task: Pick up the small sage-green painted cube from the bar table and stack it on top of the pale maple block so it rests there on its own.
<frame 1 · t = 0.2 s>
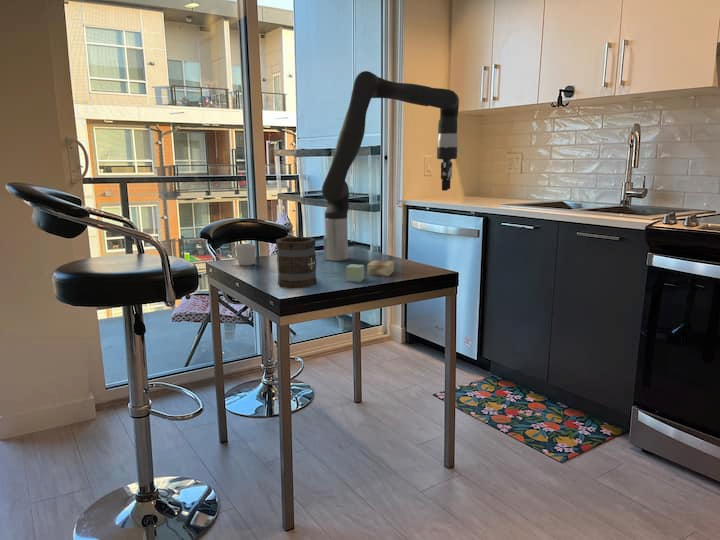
hand: (446, 189, 199), 29 cm above the table, fingers open, 8 cm apart
cup: (243, 265, 208), on the table
sage cube: (355, 280, 180), on the table
mug: (299, 282, 179), on the table
maple block: (380, 273, 191), on the table
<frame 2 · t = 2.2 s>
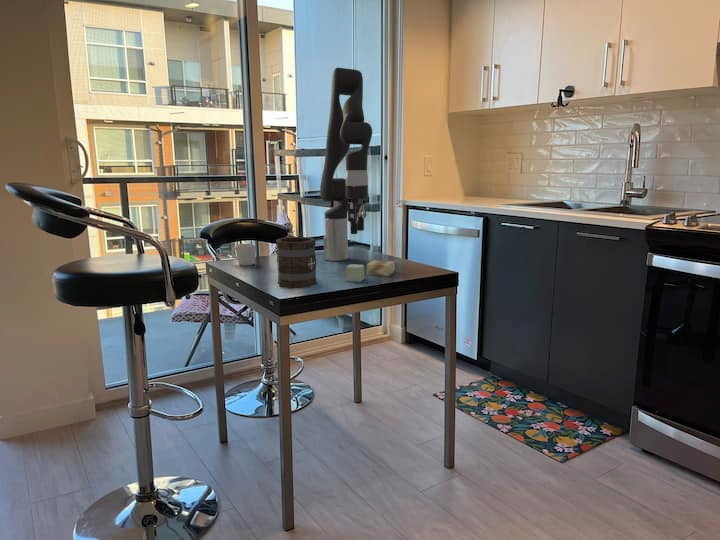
hand: (357, 232, 177), 17 cm above the table, fingers open, 8 cm apart
nothing on the table moved.
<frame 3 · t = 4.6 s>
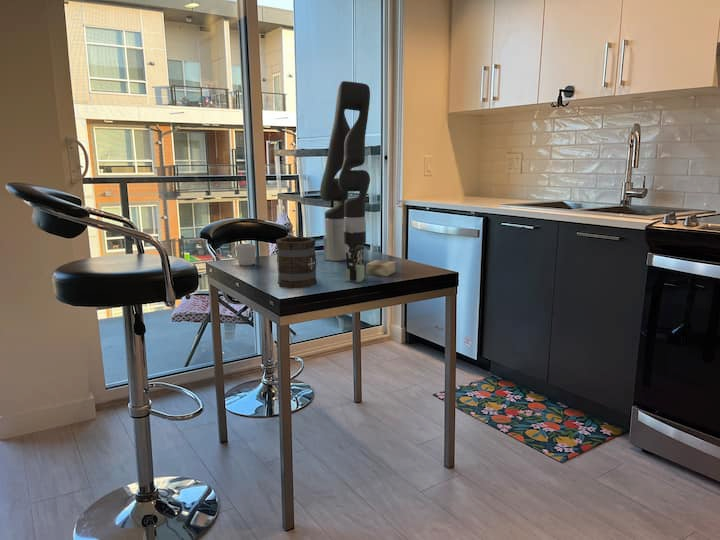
hand: (355, 278, 180), 0 cm above the table, fingers closed on sage cube, 5 cm apart
sage cube: (355, 279, 180), on the table, touching gripper
everything else where it was.
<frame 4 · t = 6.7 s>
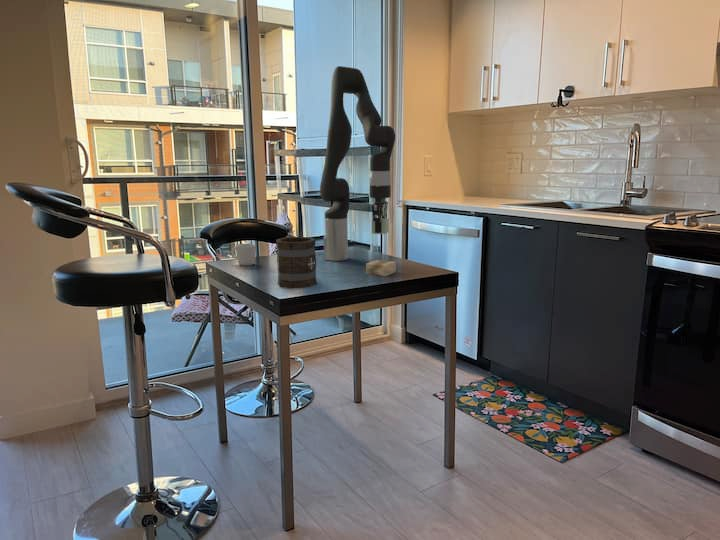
hand: (380, 231, 187), 15 cm above the table, fingers closed on sage cube, 5 cm apart
sage cube: (380, 232, 188), point 15 cm above the table, touching gripper
everything else where it was.
when the fingers open (5 cm above the table, at t = 9.0 s): sage cube drops 1 cm, resting on maple block.
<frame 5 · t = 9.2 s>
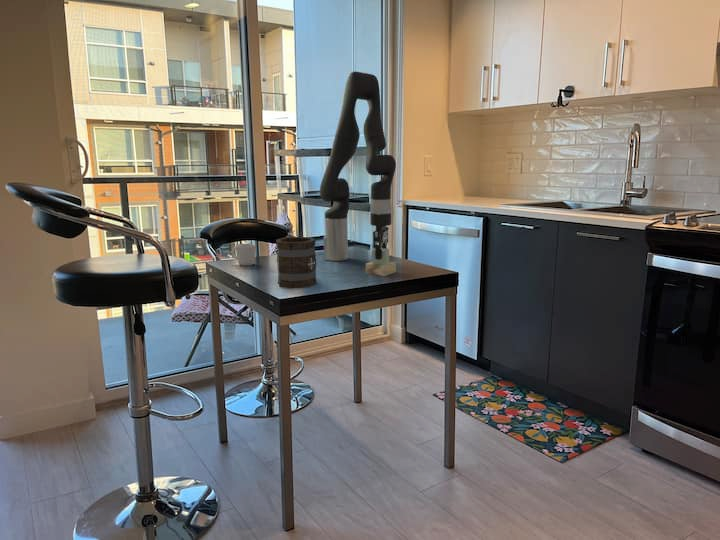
hand: (380, 257, 190), 6 cm above the table, fingers open, 6 cm apart
sage cube: (380, 262, 190), point 4 cm above the table, touching maple block
maple block: (380, 273, 191), on the table, touching sage cube
everything else where it was.
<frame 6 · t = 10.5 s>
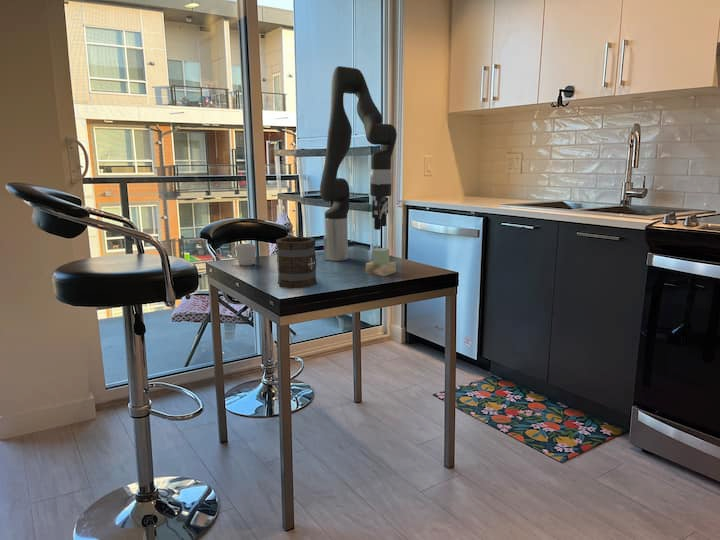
hand: (380, 227, 187), 17 cm above the table, fingers open, 8 cm apart
nothing on the table moved.
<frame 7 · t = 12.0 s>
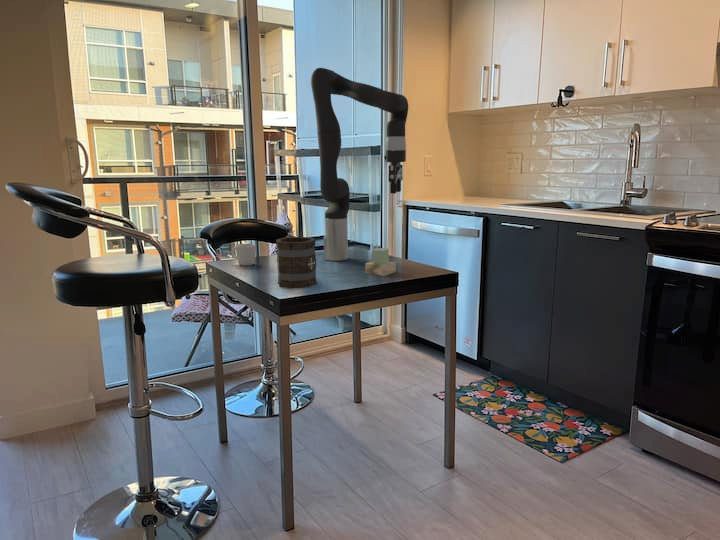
hand: (395, 192, 199), 28 cm above the table, fingers open, 8 cm apart
nothing on the table moved.
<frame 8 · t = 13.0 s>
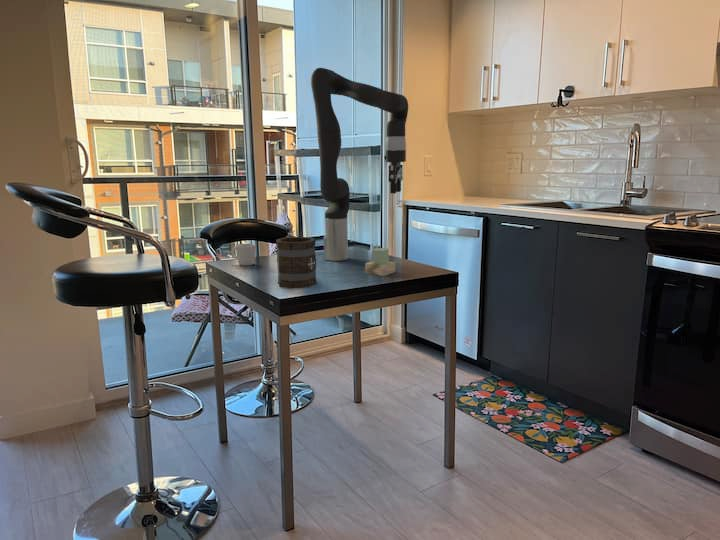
hand: (395, 192, 199), 28 cm above the table, fingers open, 8 cm apart
nothing on the table moved.
at the end: sage cube 0.2 cm off-centre on the maple block, point 4.0 cm above the maple block's base; sage cube tilted 0°; the gripper is holding nothing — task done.
